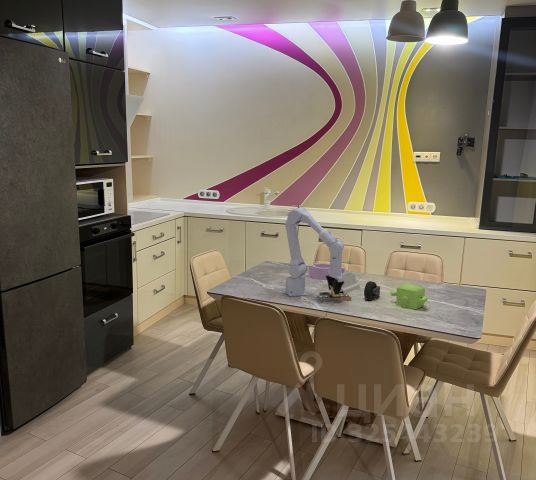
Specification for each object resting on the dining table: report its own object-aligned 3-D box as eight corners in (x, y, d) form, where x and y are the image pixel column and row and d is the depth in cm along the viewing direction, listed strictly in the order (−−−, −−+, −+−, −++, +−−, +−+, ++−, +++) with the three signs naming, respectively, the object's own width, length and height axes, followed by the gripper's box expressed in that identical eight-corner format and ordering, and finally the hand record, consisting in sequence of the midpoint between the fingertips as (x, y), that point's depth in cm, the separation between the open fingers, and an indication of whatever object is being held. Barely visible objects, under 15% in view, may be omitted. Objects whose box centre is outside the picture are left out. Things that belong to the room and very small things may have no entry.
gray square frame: (322, 297, 248) (322, 295, 248) (319, 294, 253) (319, 292, 252) (331, 297, 249) (331, 294, 249) (328, 294, 254) (328, 292, 253)
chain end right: (331, 301, 242) (331, 297, 241) (326, 297, 248) (327, 293, 247) (351, 300, 244) (351, 296, 244) (346, 296, 250) (346, 292, 250)
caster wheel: (371, 304, 243) (384, 294, 254) (372, 285, 240) (384, 276, 252) (361, 301, 246) (373, 292, 257) (361, 283, 243) (374, 274, 255)
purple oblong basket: (347, 278, 286) (347, 266, 284) (338, 283, 275) (339, 271, 274) (315, 273, 295) (316, 261, 294) (306, 277, 285) (306, 266, 284)
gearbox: (385, 304, 241) (386, 285, 239) (395, 299, 248) (395, 281, 246) (420, 312, 229) (421, 293, 227) (429, 306, 237) (430, 287, 235)
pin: (332, 300, 243) (332, 287, 242) (329, 298, 247) (330, 285, 245) (339, 300, 244) (340, 287, 243) (336, 298, 248) (337, 285, 246)
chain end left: (320, 302, 240) (320, 298, 240) (316, 298, 246) (316, 294, 246) (340, 301, 243) (340, 297, 242) (336, 297, 248) (336, 293, 248)
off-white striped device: (344, 294, 255) (339, 275, 255) (336, 295, 258) (332, 276, 258) (360, 287, 267) (356, 269, 268) (353, 288, 270) (348, 270, 271)
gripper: (348, 268, 236) (347, 296, 238) (337, 261, 250) (336, 287, 252) (335, 269, 234) (333, 296, 237) (324, 262, 248) (323, 288, 251)
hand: (333, 292), depth 244 cm, fingers open, 7 cm apart
